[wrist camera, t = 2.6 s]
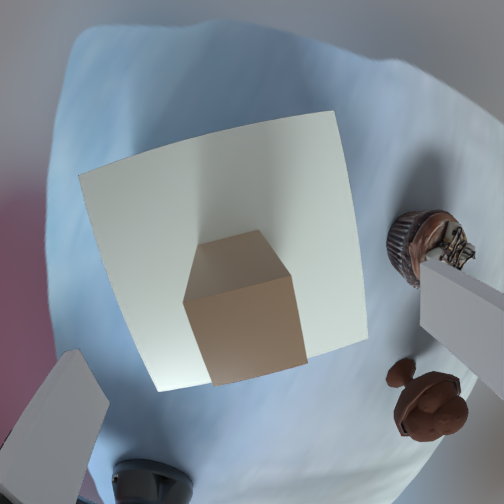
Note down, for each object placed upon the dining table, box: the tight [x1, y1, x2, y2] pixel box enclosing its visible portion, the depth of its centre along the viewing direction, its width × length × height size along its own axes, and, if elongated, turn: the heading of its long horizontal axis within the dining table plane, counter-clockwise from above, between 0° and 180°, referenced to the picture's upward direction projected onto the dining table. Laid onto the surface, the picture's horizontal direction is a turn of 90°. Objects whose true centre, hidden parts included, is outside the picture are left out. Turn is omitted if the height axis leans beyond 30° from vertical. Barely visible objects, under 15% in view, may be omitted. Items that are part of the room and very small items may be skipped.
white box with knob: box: [78, 110, 368, 392], centre depth 22 cm, size 17×17×22 cm
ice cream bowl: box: [386, 358, 468, 442], centre depth 34 cm, size 11×11×15 cm
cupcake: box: [386, 210, 476, 289], centre depth 31 cm, size 10×10×10 cm
